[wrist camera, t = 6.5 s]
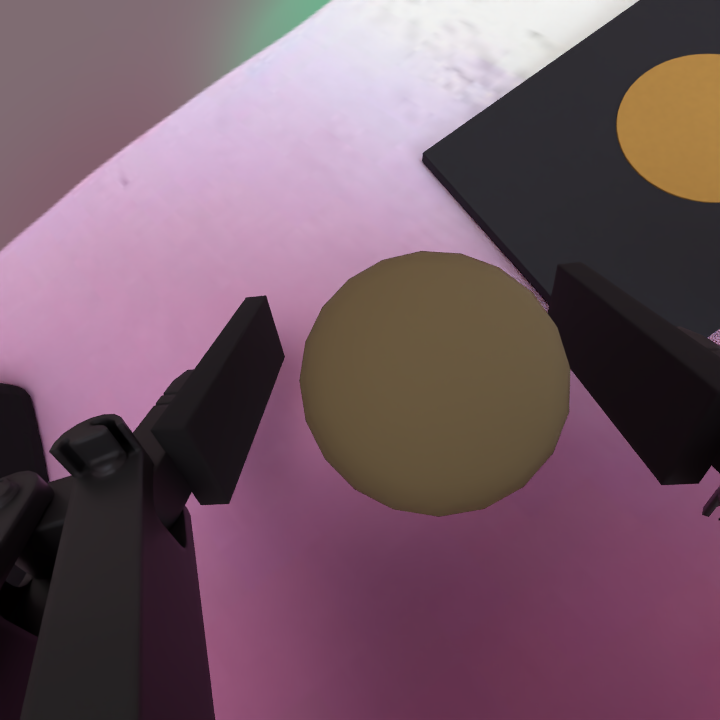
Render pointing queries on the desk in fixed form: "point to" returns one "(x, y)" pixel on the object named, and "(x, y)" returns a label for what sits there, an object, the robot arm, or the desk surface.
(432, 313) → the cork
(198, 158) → the desk surface
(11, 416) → the film camera
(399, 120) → the desk surface
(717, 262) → the mat
